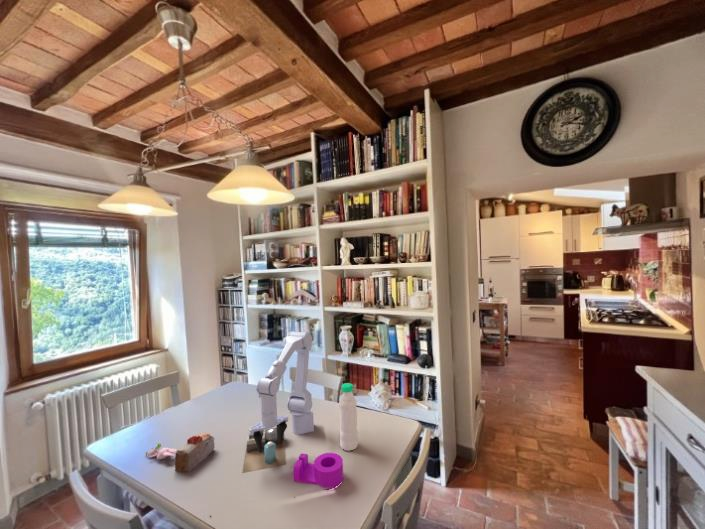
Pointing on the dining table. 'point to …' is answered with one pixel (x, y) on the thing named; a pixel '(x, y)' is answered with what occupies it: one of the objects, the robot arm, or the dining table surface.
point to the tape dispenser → (319, 470)
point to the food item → (194, 452)
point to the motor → (266, 437)
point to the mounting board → (263, 459)
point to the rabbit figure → (161, 452)
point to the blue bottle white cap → (270, 452)
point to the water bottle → (348, 418)
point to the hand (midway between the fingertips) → (269, 446)
